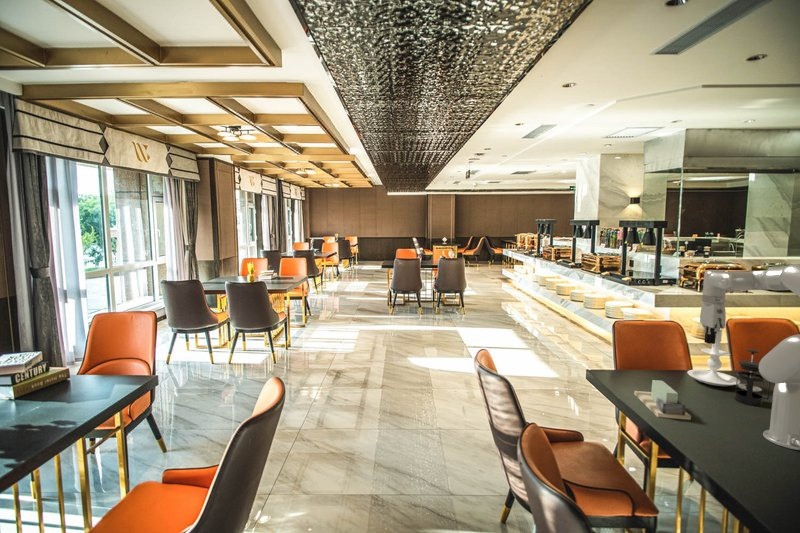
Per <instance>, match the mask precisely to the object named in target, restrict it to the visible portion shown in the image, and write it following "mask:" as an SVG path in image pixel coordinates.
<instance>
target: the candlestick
mask: <svg viewBox="0 0 800 533" xmlns="http://www.w3.org/2000/svg"><path fill="white" fill-rule="evenodd" d="M722 336H723V329H722V328H720V332H717V334H716V338H715V344H711V348H701V349H700V351H701V352H703V353H706V354H708V355H710V356H709V358H708V359H707V361H706V364H707V367H708V368H709V369H697V368H696V369H691V370H690V369H689V370H688V371H687V373H686V374H688V375H689V376H690V377H692V378H693V379H695V380H696V381H698V382H700V383H704V384H706V385H710V386H716V387H731V386H734V385H735V386H736V381H737V384H741V380H740V379H739V378H738V380H737V377H735V376H732V375H730V374H727V373H724V372H719V370H720V369H721V368H722V361H721V360H720V357H724V356H730V355H731V353H730V352H728V351H725V350H720V349H721V342H722Z"/></svg>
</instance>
